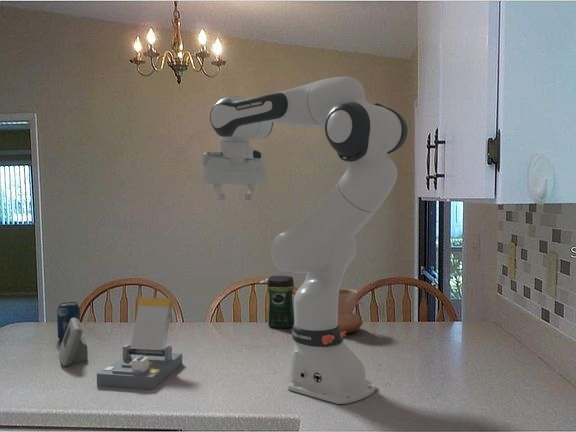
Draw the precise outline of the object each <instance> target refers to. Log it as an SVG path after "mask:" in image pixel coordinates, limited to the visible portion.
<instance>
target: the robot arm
mask: <svg viewBox="0 0 576 432" xmlns="http://www.w3.org/2000/svg"><path fill="white" fill-rule="evenodd" d="M209 120H210V121H209V122H210V124H211V127H212V129H213V130H214V131H215V133H216V134H217V135H218V136H219V141H218V143H219V144H218V145H219V151H207V152H205V153H204V154H203V156H202V171H201V172H202V173H201V181H202V183H203V184H204V185H213V190H214V191H215V194H217V199H216V200H218V201H225V200H226V193H223V192H222V189H221V188H222V185H236V186H237V185H240V186H241V185H245V186H247V189H248V191H247V193H244V200H245V201H252V199H253V194H254V191H255V190H256V186H260V185H261V186H262V185H264V184H265V183H266V178H267V175H266V165H265V162H264V161H263V160H264V158H265V154H264V153H263V151H260V150H258V149H256V148H254V147H252V146H250V140H262V139H263V140H264V139H266V138H268V136H269V135H270V134H271V132H272V130H273V127H274V123H276V124H283V125H287V126H290V127H291V126H293V127H295V128H296V127H297V128H302V129H304V128H305V129H320V128H321V129H322V128H324V132H325V137H326V139H327V142H328V143H329V144H330V146H331V147H332V148H333V149H334V150H335V152H336V153H337V156H338V158H339V159H340V160H342V161H344V162H346V163H347V162H348V167H347V169H346V171H345V172H344V174H343V175H342V176H341V177H340V178H339V180H338V182H336V184H335V185H334V187H333V188H332V189H331V190H330V192H329V193H328V195H326V197H325V199H324V200H323V201H322V202H321V203H320V204H319V205H318V206H317V207H316V208H315V209H314V210H313V211H311V212H310V213H309V214H307V216H305V217H304V218H303V219H301V220H300V221H299V222H297V223H296V224H295V225H293V226H292V227H290V228H288V229H287V230H285V231H283V232H280V233H279V234H277V235H276V236H274V237H275V238H274V239H273V241H272V243H271V248H270V256H271V260H272V263H273V264H274V266H275V267H276V268H277V269H278V270H279V271H280V272H282V273H288V274H297V275H300V274H306V273H307V274H306V277H305V279H304V281H303V283H302V284H301V285H300V286H299V288H298V289H297V290H296V292H295V294H294V297H293V310H294V325H293V327H292V331H291V332H292V340H293V349H292V354H291V355H292V356H291V364H290V372H289V376H288V384H287V390H289V391H291V392H294V393H298V394H302V395H305V396H309V397H313V398H315V399H319V400H323V401H327V402H330V403H333V404H337V405H345V404H351V403H353V402H354V403H355V402H359V401H361V400H363V399H365V398H367V397H370V396H371V395H372V394H374V392H375V391H376V389H377V387H376V383H375V382H372V381H370V380H368V379H367V375H366V368H365V365H364V363H363V362H362V360H361V359H360V358H359V357H358V356H357V355H356V354H355V353H354V352H353V350H351V349H350V347H349V346H348V345H347V344H346V342H345V341H344V337H345V336H347V334H345V333H346V331H344V332H341V329H340V327H339V325H338V295H339V290H340V289H341V285H342V282H343V281H342V280H343V278H344V276H345V273H346V270H347V269H348V266H349V265H350V263H351V262H352V261H353V260H354V259H355V257H356V254H357V250H358V246H357V245H358V244H357V240H356V237H355V235H357V234H358V233H359V232H360V231H361V230H362V229H363V228H364V226H365V225H366V224H367V223H368V221H369V220H370V219H371V218H372V217H373V216H374V214H375V213H376V212H377V211H378V210H379V208H380V207H381V206H382V204H383V203H384V202H385V200H387V197H388V195H389V194H390V193H391V191H392V189H393V188H394V186H395V184H396V182H397V179H398V176H399V175H398V173H399V172H398V168H397V165H396V164H395V163H394V162H393V160H392V159H391V158H390V157H389V154H392V153H394V152H396V151H398V150H399V149H400V148H401V147H403V145H404V144H405V142H406V139H407V137H408V124H407V122H406V120H405V118H404V116H402V114H400V113H398V112H397V111H395V110H393V108H389V107H387V106H385V105H382V104H380V103H374V104H372V103H370V102H368V101H367V98H366V93H365V89H364V87H363V85H362V83H361V82H360V81H359V80H358V79H357V78H354V77H353V76H348V75H347V76H346V75H345V76H335V77H329V78H323V79H319V80H316V81H312V82H310V83H307V84H302V85H300V86H296V87H293V88H290V89H286V90H281V91H278V92H275V93H270V94H264V95H260V96H256V97H251V98H245V97H244V96H240V95H232V96H231V95H230V96H228V97H224V98H221V99H219V100H218V101H217V102H216V103H215V104H214V105H213V107H212V109H211V111H210V114H209Z"/></svg>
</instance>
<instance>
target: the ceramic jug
mask: <svg viewBox="0 0 576 432" xmlns="http://www.w3.org/2000/svg"><path fill="white" fill-rule="evenodd" d="M357 298H358V291H357V290H356V289H348V288H340V290H339V295H338V325H339V327H340V329H341V332H344V331H346V333H345V334H344V335H348V334H351V333H354V332H356V331H358V330H359V329H360V328H361V327H362V325H363V323H364V322H363V320H362V319H361V318H360V317H359V316H358V315H356V314H355V313H353V310H354V307H355V306H357V305H360V304H361V306H363V305H364V303H365V301H364V300H362V299H358V300H357Z"/></svg>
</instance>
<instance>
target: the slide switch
mask: <svg viewBox="0 0 576 432" xmlns="http://www.w3.org/2000/svg"><path fill="white" fill-rule="evenodd" d="M148 369H149V357H144V355H141V356H140V357H136V358H135V359H133V360H132V371H140V372H142V373H144V372H145V371H146V370H148Z"/></svg>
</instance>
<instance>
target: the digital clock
mask: <svg viewBox="0 0 576 432" xmlns="http://www.w3.org/2000/svg"><path fill="white" fill-rule="evenodd" d="M82 327H83V326H82V324H81V321H80V322H79V320H78V319H77V318H75V317H74V318H71V319H70V322H69V324H68V327H67V330H66V332H65V335H64V338H63V341H61V344H60V346H59V350H58V352H59V357H60V363H61V365H62V366H64V367H68V366H71V365H72V364H73V363H79V362H86V361H88V360H89V359H88V355H89V354H88V345H87V342H86V340H85V337H83V336H82V335H83V332H84V331H83V328H82Z"/></svg>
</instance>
